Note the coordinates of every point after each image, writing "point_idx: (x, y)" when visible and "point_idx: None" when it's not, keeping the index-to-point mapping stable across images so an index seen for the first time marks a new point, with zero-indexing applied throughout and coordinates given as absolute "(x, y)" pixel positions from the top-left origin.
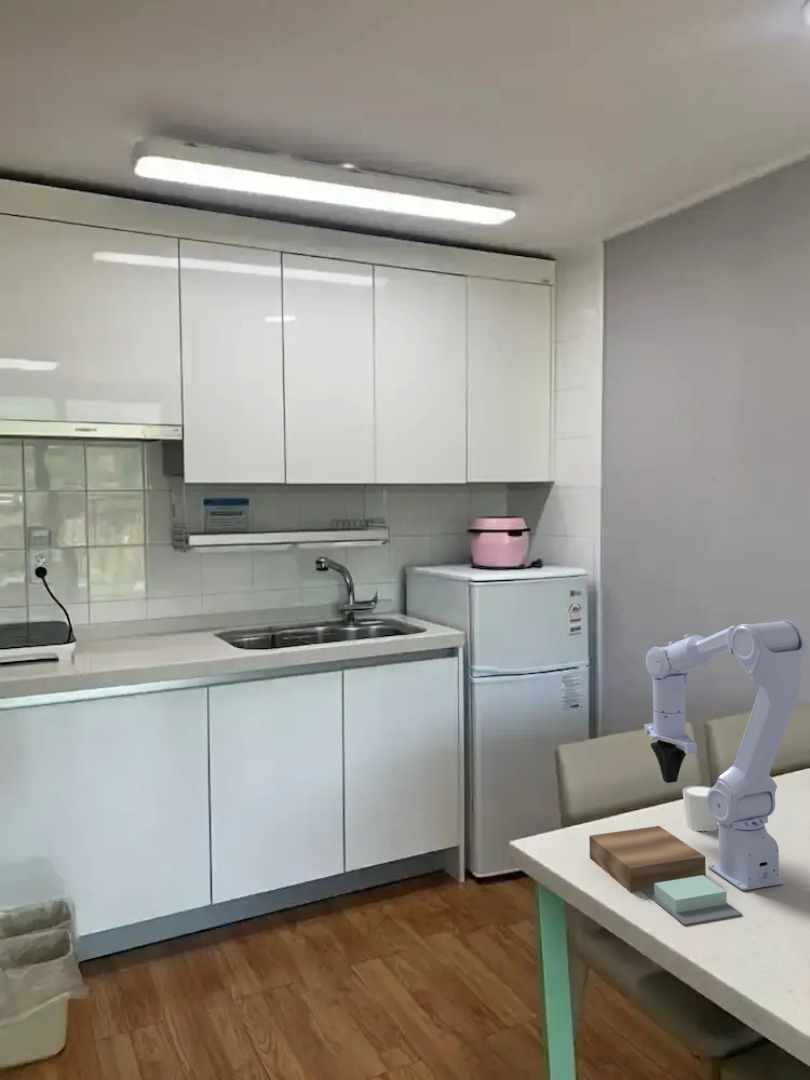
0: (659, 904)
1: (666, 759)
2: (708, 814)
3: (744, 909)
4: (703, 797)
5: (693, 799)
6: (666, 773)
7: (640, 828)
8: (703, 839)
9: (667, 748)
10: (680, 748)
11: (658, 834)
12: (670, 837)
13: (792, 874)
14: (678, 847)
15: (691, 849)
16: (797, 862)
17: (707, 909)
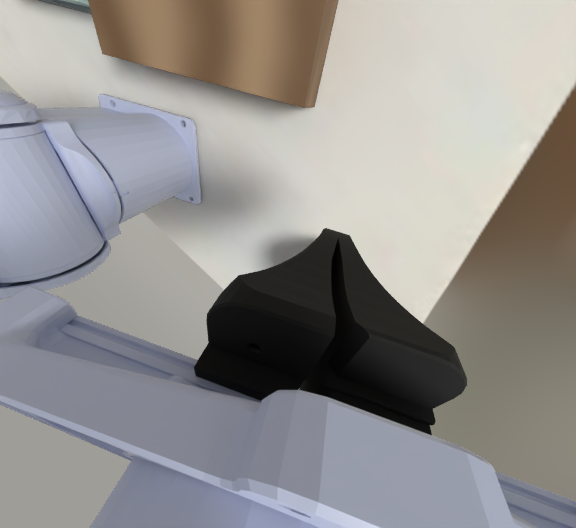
0: None
1: (274, 267)
2: None
3: (36, 27)
4: None
5: None
6: (316, 240)
7: (322, 14)
8: (294, 220)
9: (218, 323)
10: (147, 346)
11: (255, 43)
12: (224, 64)
13: (157, 216)
14: (157, 21)
15: (143, 54)
16: (186, 250)
17: None
